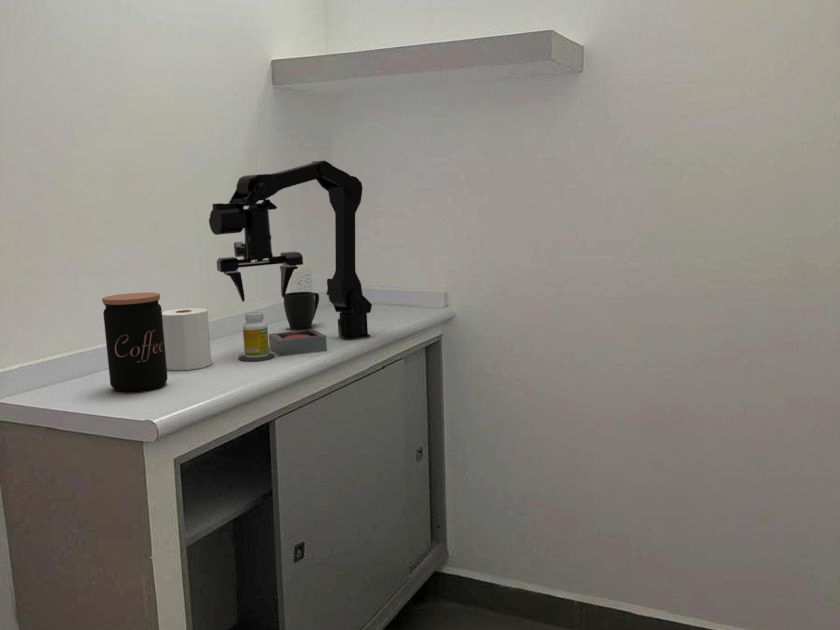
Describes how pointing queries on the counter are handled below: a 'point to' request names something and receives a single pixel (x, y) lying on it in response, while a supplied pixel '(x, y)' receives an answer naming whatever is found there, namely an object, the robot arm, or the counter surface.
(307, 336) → the button
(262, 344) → the supplement bottle
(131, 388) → the coffee jar
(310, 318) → the mug
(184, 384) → the counter surface
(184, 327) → the toilet paper
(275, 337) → the grey square tray
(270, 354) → the coaster
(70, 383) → the counter surface
